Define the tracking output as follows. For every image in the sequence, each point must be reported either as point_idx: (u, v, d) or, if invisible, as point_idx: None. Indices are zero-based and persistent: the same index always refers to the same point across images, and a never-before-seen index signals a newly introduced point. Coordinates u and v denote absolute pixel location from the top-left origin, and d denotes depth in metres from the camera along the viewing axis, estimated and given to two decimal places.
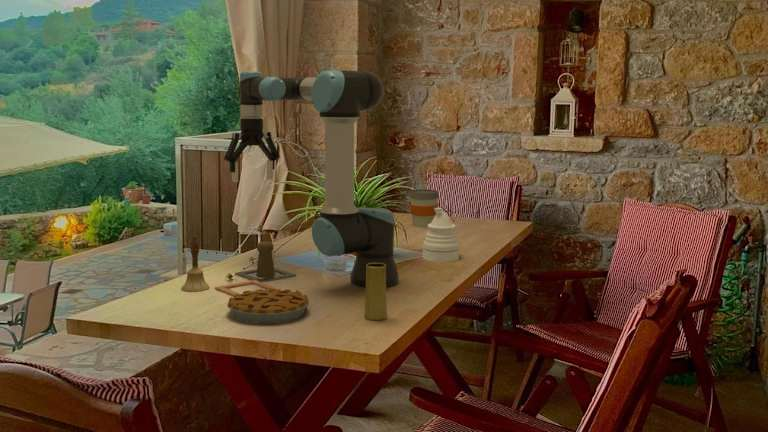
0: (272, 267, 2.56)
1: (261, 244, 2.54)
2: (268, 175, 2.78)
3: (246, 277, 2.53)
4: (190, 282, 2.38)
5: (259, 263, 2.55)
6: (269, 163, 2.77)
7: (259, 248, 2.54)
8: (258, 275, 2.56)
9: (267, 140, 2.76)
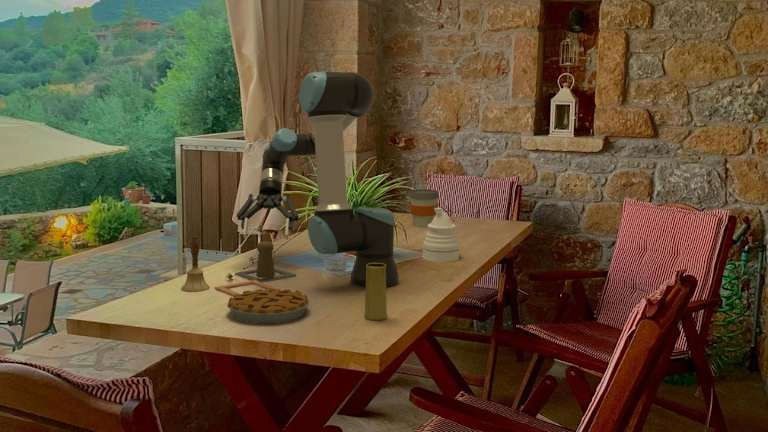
0: (272, 267, 2.56)
1: (261, 244, 2.54)
2: None
3: (246, 277, 2.53)
4: (190, 282, 2.38)
5: (259, 263, 2.55)
6: None
7: (259, 248, 2.54)
8: (258, 275, 2.56)
9: (287, 203, 2.70)
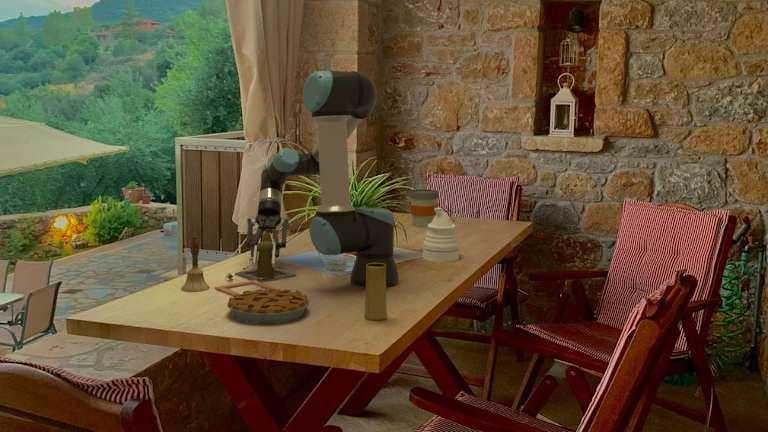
0: (272, 267, 2.56)
1: (261, 244, 2.54)
2: None
3: (246, 277, 2.53)
4: (190, 282, 2.38)
5: (259, 263, 2.55)
6: (273, 249, 2.56)
7: (259, 248, 2.54)
8: (258, 275, 2.56)
9: None
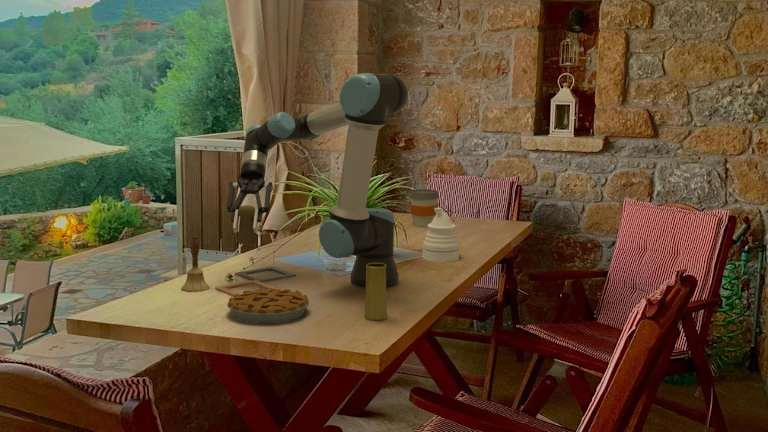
0: (254, 233, 2.40)
1: (242, 208, 2.38)
2: None
3: (246, 277, 2.53)
4: (190, 282, 2.38)
5: (240, 228, 2.40)
6: (255, 214, 2.40)
7: (240, 212, 2.38)
8: (239, 241, 2.40)
9: None
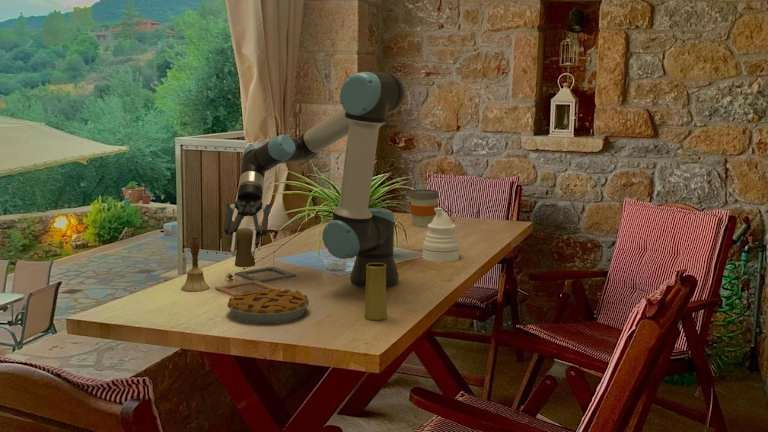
0: (252, 256, 2.37)
1: (240, 231, 2.35)
2: None
3: (246, 277, 2.53)
4: (190, 282, 2.38)
5: (238, 251, 2.37)
6: (253, 236, 2.37)
7: (238, 235, 2.35)
8: (237, 264, 2.37)
9: None
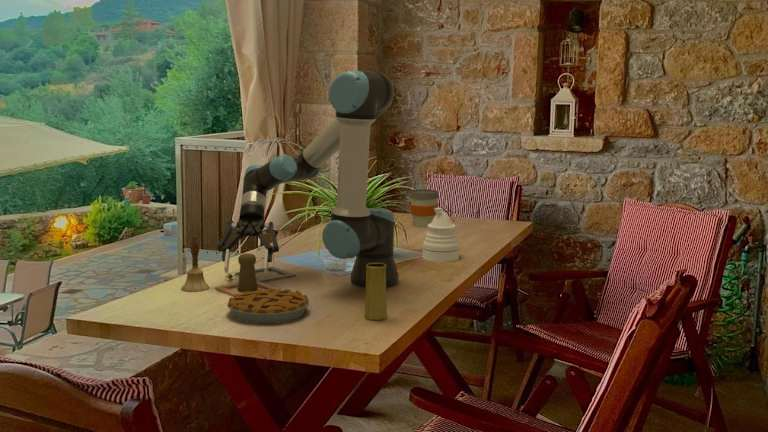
0: (254, 281, 2.38)
1: (243, 256, 2.36)
2: None
3: None
4: (190, 282, 2.38)
5: (240, 277, 2.37)
6: None
7: (240, 261, 2.36)
8: (239, 290, 2.38)
9: (269, 231, 2.44)
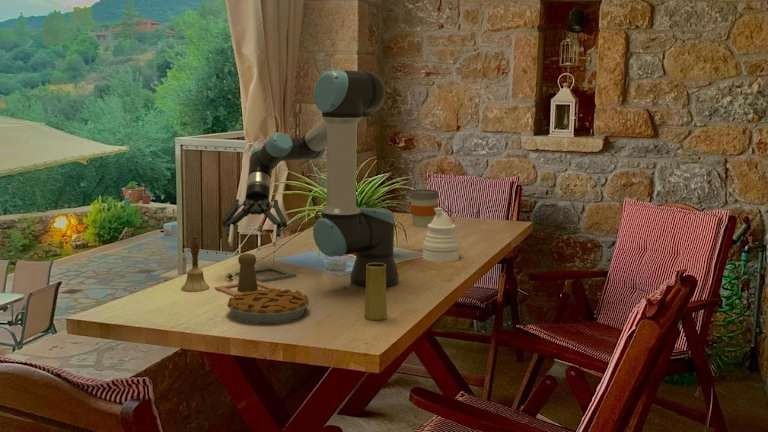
0: (254, 281, 2.38)
1: (243, 256, 2.36)
2: None
3: None
4: (190, 282, 2.38)
5: (240, 277, 2.37)
6: (274, 228, 2.51)
7: (240, 261, 2.36)
8: (239, 290, 2.38)
9: (275, 209, 2.56)
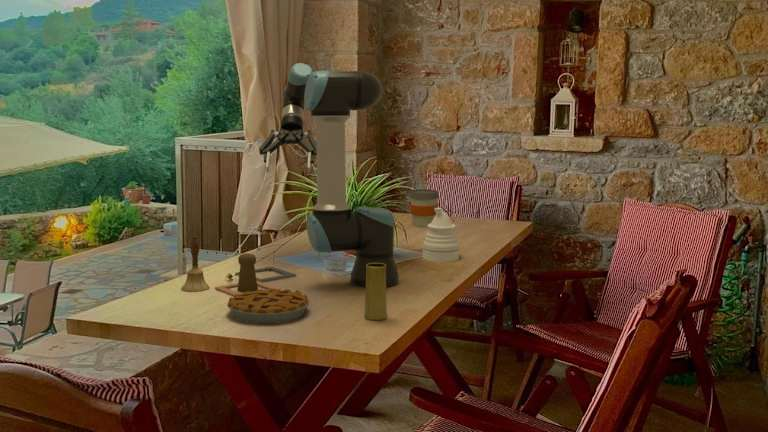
0: (254, 281, 2.38)
1: (242, 256, 2.36)
2: None
3: None
4: (190, 282, 2.38)
5: (240, 277, 2.37)
6: None
7: (240, 261, 2.36)
8: (239, 290, 2.38)
9: (308, 138, 2.72)
